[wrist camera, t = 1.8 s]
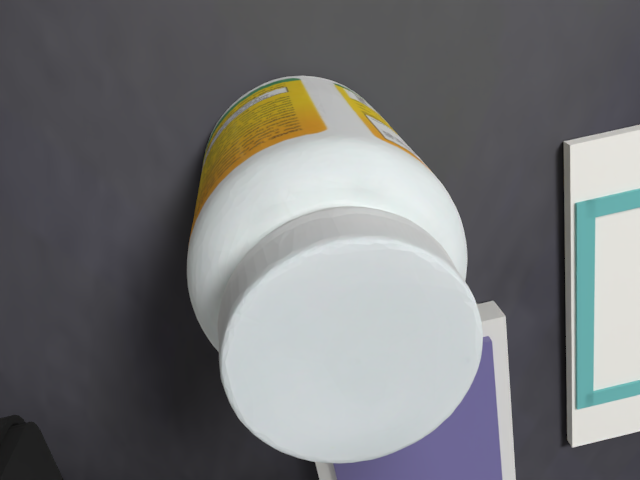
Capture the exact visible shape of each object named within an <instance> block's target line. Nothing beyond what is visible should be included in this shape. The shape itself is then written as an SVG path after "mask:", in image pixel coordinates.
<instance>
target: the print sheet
mask: <svg viewBox="0 0 640 480" xmlns="http://www.w3.org/2000/svg"><path fill="white" fill-rule="evenodd" d="M564 221H565V304H566V387H567V441H568V442H569V443H570V445H571V446H572V447H577V446H581V445H585V444H589V443H593V442H597V441H601V440H605V439H609V438H614V437H618V436H622V435H626V434H630V433H634V432H638V431H640V125H636V126H632V127H627V128H623V129H618V130H614V131H609V132H605V133H600V134H596V135H591V136H587V137H582V138H577V139H573V140H568V141H564Z"/></svg>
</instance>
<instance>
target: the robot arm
mask: <svg viewBox="0 0 640 480" xmlns="http://www.w3.org/2000/svg"><path fill="white" fill-rule="evenodd" d="M0 480H63V478H62V476H61V473H60V471H59V469H58V467H57V465H56V463H55V461H54V459H53V456H52V454H51V452H50V450H49V448H48V446H47V444H46V442H45V440H44V437H43V435H42V433H41V431H40V429H39V428H38V426H37V425H36V424H35V423H34V422H28V423H25V421H24V420H23V419H22V418H21V417H20V416H17V415H12V416H8V417H4V418H0Z"/></svg>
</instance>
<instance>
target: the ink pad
mask: <svg viewBox="0 0 640 480" xmlns="http://www.w3.org/2000/svg"><path fill="white" fill-rule="evenodd" d="M477 307H478V310H479V313H480V317H481V322H482V330H483V345H482V354H481V360H480V363H479V367H478V370H477V373H476V375H475V378H474V380H473V382H472V384H471V386H470V388H469V390H468V392H467V393H466V395H465V396H464V398H463V400H462V401H461V403H460V404H459V405H458V406H457V407H456V409H455V410H454V412H453V413H452V414H451V415H450V416H449V417H448V418H447V419H446V420H445V421H444V422H443V423H442V424H440V425H439V426H438V427H437V428H436V429H435V430H434V431H432V432H431V433H430V434H428V435H426V436H425V437H424V438H422V439H421V440H419V441H417V442H415V443H413V444H411V445H409V446H407V447H405V448H403V449H401V450H398V451H396V452H394V453H392V454H389V455H386V456H383V457H380V458H376V459H373V460H367V461H360V462H354V463H320V462H315V464H316V468H317V472H318V476H319V480H516V477H515V461H514V445H513V429H512V413H511V397H510V381H509V365H508V349H507V333H506V316H505V315H504V314H503V312H502V311H501V310H500V308H499V307H498V306H497V305H496V303H495V302H494V301H490V302H485V303H481V304H477Z"/></svg>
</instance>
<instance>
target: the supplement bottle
mask: <svg viewBox="0 0 640 480" xmlns="http://www.w3.org/2000/svg"><path fill="white" fill-rule="evenodd" d="M466 271H467V246H466V239H465V234H464V229H463V225H462V222H461V219H460V216H459V213H458V211H457V209H456V207H455V205H454V203H453V201H452V199H451V197H450V195H449V194H448V192H447V191H446V189H445V188H444V186H443V185H442V183H441V182H440V181H439V180H438V179H437V177H436V176H435V175H434V174H433V173H432V171H431V170H430V169H429V168H428V167H427V166H426V165H425V163H424V162H423V161H422V160H421V159H420V158H419V157H418V156H417V155H416V154H415V153H414V152H413V150H412V149H411V148H410V147H409V146H408V145H407V144H406V143H405V142H404V141H403V140H402V139H401V138H400V137H399V135H398V134H397V133H396V132H395V131H394V130H393V129H392V128H391V127H390V126H389V124H388V123H387V122H386V121H385V120H384V119H383V118H382V117H381V116H380V115H379V114H378V113H377V112H376V111H375V110H374V109H373V108H372V107H371V106H370V105H369V104H368V103H367V102H366V101H365V100H364V99H363V98H362V97H360V96H359V95H358V94H357V93H355V92H354V91H352V90H350V89H349V88H347V87H345V86H343V85H341V84H339V83H337V82H334V81H331V80H328V79H324V78H319V77H312V76H291V77H283V78H279V79H275V80H271V81H269V82H267V83H264V84H262V85H260V86H258V87H256V88H254V89H253V90H251V91H249V92H248V93H246V94H245V95H243V96H242V97H240V98H239V99H238V100H237V101H236V102H234V103H233V104H232V105H231V106H230V107H229V108H228V109H227V110H226V112H225V113H224V114H223V115H222V117H221V118H220V119H219V121H218V122H217V124H216V126H215V127H214V129H213V131H212V133H211V136H210V138H209V141H208V144H207V147H206V151H205V155H204V159H203V167H202V173H201V179H200V185H199V191H198V197H197V202H196V208H195V213H194V219H193V224H192V229H191V234H190V240H189V247H188V256H187V282H188V290H189V295H190V300H191V303H192V307H193V309H194V312H195V315H196V318H197V320H198V322H199V324H200V326H201V328H202V330H203V331H204V333H205V335H206V336H207V338H208V339H209V341H210V342H211V343H212V345H213V346H214V347H215V348H216V350H217V351H218V352H219V367H220V378H221V381H222V384H223V387H224V390H225V393H226V396H227V398H228V401H229V403H230V405H231V407H232V408H233V410H234V412H235V414H236V415H237V417H238V418H239V420H240V421H241V422H242V423H243V424H244V425H245V426H246V427H247V428H248V429H249V430H250V432H251V433H252V434H254V435H255V436H256V437H258V438H259V439H260V440H262V441H263V442H264V443H266V444H268V445H270V446H271V447H273V448H275V449H276V450H278V451H280V452H282V453H285V454H288V455H291V456H294V457H296V458H300V459H304V460H308V461H312V462H320V463H354V462H360V461H367V460H373V459H376V458H380V457H383V456H386V455H389V454H392V453H394V452H396V451H398V450H401V449H403V448H405V447H407V446H409V445H411V444H413V443H415V442H417V441H419V440H421V439H422V438H424V437H425V436H426V435H428V434H430V433H431V432H432V431H434V430H435V429H436V428H437V427H438V426H439V425H440V424H442V423H443V422H444V421H445V420H446V419H447V418H448V417H449V416H450V415H451V414H452V413H453V412H454V410H455V409H456V407H457V406H458V405H459V404H460V403H461V401H462V400H463V398H464V396H465V395H466V393H467V392H468V390H469V388H470V386H471V384H472V382H473V380H474V378H475V375H476V373H477V370H478V367H479V363H480V360H481V354H482V345H483V330H482V322H481V317H480V313H479V310H478V307H477V304H476V301H475V298H474V296H473V294H472V292H471V291H470V289H469V287H468V285H467V284H466V282H465V279H466Z"/></svg>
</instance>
